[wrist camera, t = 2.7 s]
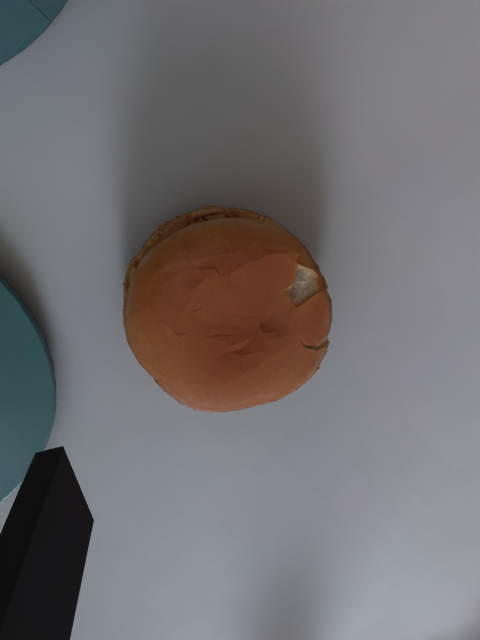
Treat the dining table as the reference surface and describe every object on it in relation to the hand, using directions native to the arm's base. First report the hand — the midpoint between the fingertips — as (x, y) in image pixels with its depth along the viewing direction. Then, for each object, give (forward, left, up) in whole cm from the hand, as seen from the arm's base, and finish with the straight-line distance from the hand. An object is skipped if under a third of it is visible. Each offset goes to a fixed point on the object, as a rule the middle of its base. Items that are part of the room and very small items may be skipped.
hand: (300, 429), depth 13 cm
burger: (-1, 0, -12) cm, 12 cm away
